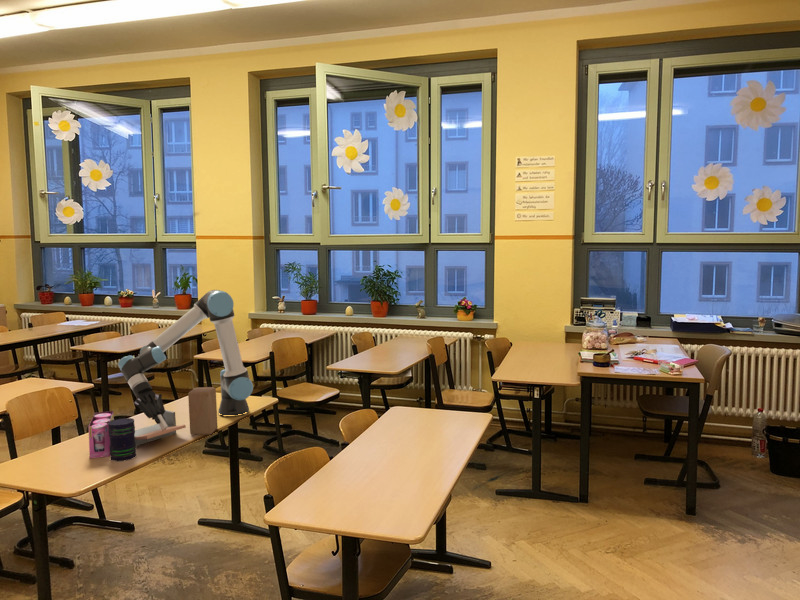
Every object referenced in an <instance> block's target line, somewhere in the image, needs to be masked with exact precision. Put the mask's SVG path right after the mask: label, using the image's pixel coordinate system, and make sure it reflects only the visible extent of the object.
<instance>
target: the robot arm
mask: <svg viewBox="0 0 800 600" xmlns="http://www.w3.org/2000/svg"><path fill="white" fill-rule="evenodd" d="M234 304H235V303H234V300H233V298H232V296H231V295H230V294H229V293H228V292H226V291H224V290H221V289H220V290H219V289H211V290H209V291H207V292H205V294H204V295H203V296H201V297H200V298H199V299H198V300H196V302H195V303H194V304H193V307H192V308H191V309H189V310H188V311H187V312H186V313H184V315H182V316H181V317H180V318H179V319H177V320H176V321H174V323H172V324H171V325H170V326H169V327H167V328H166V329H165V330H164V331H163V332H161V333H160V334H159V335H157V336H156V338H154V339H153V340H151V342H149V343H148V344H147V345H143V346H142V347H141V349H140V350H139V355H137V356H136V357H134V355H127V356H123V357H121V359H120V360H118V363H117V365H118V368H119V370H120V372H121V374H122V375H123V377H124V378H125V381H126V382H127V384H128V385H129V388H130V389H131V390H132V392H133V395H134V396H135V397H136V399H135V401H134V402H133V405H134V406H135V407H138V408H139V409H140V410H141V412H142V413H143V414H144V415H145V416H146V417H147V418H148V419H151V420H154V422H155V423H156V424H159V426H160V427H161V429H162V431H163V430H165V429H166V428H167V424H166V422H165V418H164V416H163V414H164V413H165V410H166V409H165V405H164V402H163V399H162V396H163V395H162V393H159V394H156V392H154V391H153V388H152V385H151V384H150V382H149V380H148V379H147V377H146V376H145V374H144V372H146V371H148V370H150V369H153V367H156V366H157V365H159V364H162V362H164V361H166V360H167V356H166V354H165V352H166V351H167V350H168V349H170V347H172V346H173V345H174V344H175V343H176V342H178V341H179V340H180V339H181V338H183V337H184V336H185V335H187V333H188V332H190V331H192V329H194V328H195V327H196V326H197V325H198V324H199V323H201V322H202V321H203V320H205V319H207V320H208V319H209V322H211V323H212V324H213V325H214V329H215V332H216V336H217V340H218V345H219V349H220V354H221V358H222V362H223V366H224V369H221V371H220V372H219V373H220V375H219V377H220V392H221V393H220V395H221V397H220V398H221V401H220V404H219V408H218V409H217V413H218V414H219V413H220V414H222V415H238V414H243V413H245V412H248V411H249V412H250V407H249V405H248V402H247V399H248V398H249V397H250V396H251V395H252V393H253V391H254V385H253V382H252V380H251V379H250V374H249V372H248V368H246V367H245V366H244V363H243V360H242V355H241V351H240V347H239V343H238V339H237V334H236V329H235V326H234V321H233V319H234V318H235V316H236V315H235V311H234V306H235V305H234Z"/></svg>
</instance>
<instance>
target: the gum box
mask: <svg viewBox="0 0 800 600" xmlns="http://www.w3.org/2000/svg"><path fill="white" fill-rule="evenodd" d="M112 420H115V414H114V411H113V410H111V411H109V410H108V411H100V412H99V411H98V412H94V414H93V416H92V418H91V420H90V422H89V424H88V443H89V446H88V447H89V451H88V452H89V459H97V458H105V457H111V456H110V437H109V431H108V429H109V425H108V423H109V422H110V421H112Z"/></svg>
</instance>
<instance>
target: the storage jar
mask: <svg viewBox="0 0 800 600" xmlns="http://www.w3.org/2000/svg"><path fill="white" fill-rule="evenodd" d="M108 425H109V429H108V431H109V437H110V456H109V457H110V461H113V462H125V461H124V460H126V461H129V460H132V459H134V458H136V457H137V446H136V442H135V436H134V434H135V430H136V426H135V419H134V418H130V417H124V418H123V417H122V418H116V419H114V420H112V421H110V422H109V423H108Z"/></svg>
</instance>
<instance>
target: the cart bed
mask: <svg viewBox="0 0 800 600" xmlns="http://www.w3.org/2000/svg"><path fill="white" fill-rule="evenodd" d="M163 416H164V418H165V422H166V424H167V428H168V427H171V426H177V420H176V411H171V410H168V409H165V413H164V414H163ZM157 430H161V427H160V426H159V424H157V423H156V424H152V425H149V426H145V427H141V428H137V429H135V434H134V436H135V437H137V436H140V435H144V434H147V433H151V432H154V431H157ZM175 433H176V434H177V430H176V431H172V432H169V433H166V434H162V435H159V436H156V437H153V438H149V439H141V440H135V442H136V447H137V446H140V445H143V444H146V443H149V442H153V441H157V440H159V439H163V438H166V437H169V435H170V436H172V434H173V435H175Z"/></svg>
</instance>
